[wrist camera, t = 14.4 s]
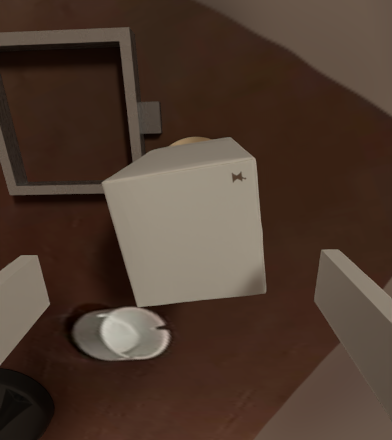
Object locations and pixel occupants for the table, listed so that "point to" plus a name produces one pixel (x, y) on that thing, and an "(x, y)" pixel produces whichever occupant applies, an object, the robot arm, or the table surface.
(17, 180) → the grey frame with tab
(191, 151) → the supplement box
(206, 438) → the table surface
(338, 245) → the table surface
